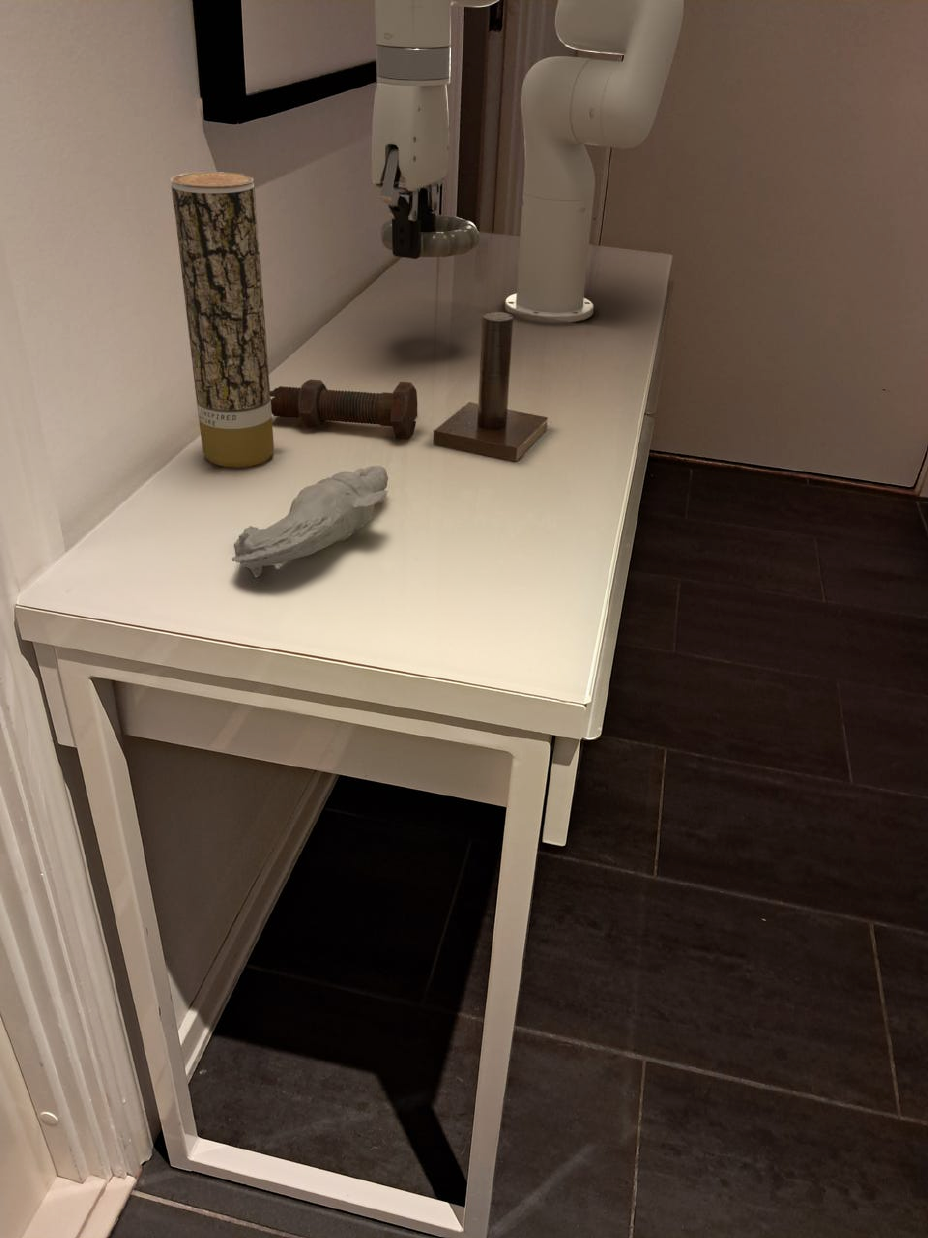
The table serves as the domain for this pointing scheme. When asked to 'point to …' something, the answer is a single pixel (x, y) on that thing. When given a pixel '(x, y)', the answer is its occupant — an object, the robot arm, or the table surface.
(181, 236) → the paper tube
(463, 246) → the bracelet
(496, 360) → the post
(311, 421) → the bolt
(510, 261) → the table surface
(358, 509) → the grey figurine
